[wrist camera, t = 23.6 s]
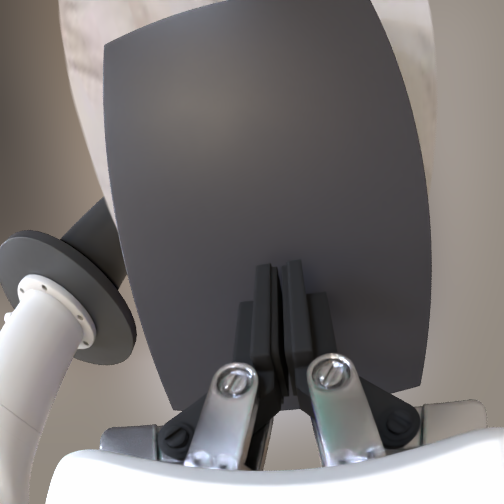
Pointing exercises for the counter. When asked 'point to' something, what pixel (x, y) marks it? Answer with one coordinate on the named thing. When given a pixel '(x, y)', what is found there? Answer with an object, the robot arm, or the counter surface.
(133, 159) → the lid
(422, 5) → the counter surface
